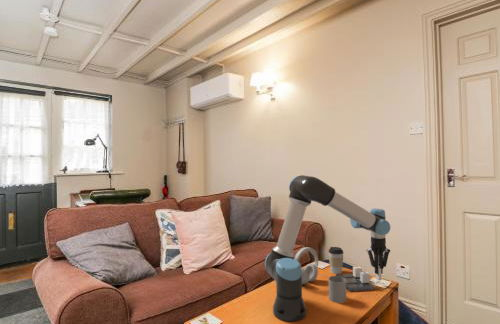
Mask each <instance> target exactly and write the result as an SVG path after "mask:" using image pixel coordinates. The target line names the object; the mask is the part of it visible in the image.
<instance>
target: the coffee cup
mask: <svg viewBox="0 0 500 324" xmlns="http://www.w3.org/2000/svg"><path fill="white" fill-rule="evenodd" d="M328 259H329V268H330V273H332V274H334V275H337V274H343V263H344V250H343V249H342V248H341V247H339V246H330V248H329V249H328Z"/></svg>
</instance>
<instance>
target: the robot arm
mask: <svg viewBox="0 0 500 324" xmlns="http://www.w3.org/2000/svg"><path fill="white" fill-rule="evenodd" d="M288 189H289V194H288V199H289V205H288V208H287V212H286V215H285V216H284V220H283V224H282V228H281V230H280V234H279V236H278V239H277V243H276V246H274V247H272V249H271V251H270V253H268V254H267V256H266V258H265V260H264V267H265V269H266V272H267V273H268V275H269V276H271V277H272V279H273V280H274V281H275V284H276V286H275V287H276V296H275V299H274V302H273V306H272V313H273V315H274V317H275V318H277V319H278V320H280V321H283V322H284V321H285V322H297V321H301V320H303V319H304V318H306V316H307V307H306V304H305V302H304V298H303V284H302V269H301V267H302V265H301V263H300V261H297V260H295V259H294V258H295V255H294V248H295V245H296V242H297V238H298V235H299V231H300V228H301V226H302V222H303V219H304V217H305V216H304V215H305V213H306V210H307V207H309V206H311V203H312V202H315V203H317V204H320V205H322V206H324V207H327V206H328V207H330V208H331V209H332V210H335V211H336V212H338V213H340V214H342V215H344V216H346V217H347V218H349V219H350V220H349V222H350V225H351V227H352V228H354V229H364V230H367V231H369V232H370V236H371V237H370V248H368V249H366V252H367V254H368V258H369V262H370V265H371V267H372V268H374V273H375V276H376V277H375V278H376V280H377V281H382V274H383V273H384V272H383V270H384V268H386V267H387V263H388V259H389V254H390V252H391V249H389V248H387V245H386V244H387V243H386V237H387V236H386V235H388V234H389V233H390V231H391V224H390V222H389V221H388V220H386V211H385V210H384V209H382V208H371V209H370V211H368V210H366V209H365V208H363V207H361V206H360V205H358V204H357V203H355V202H353V201H352V200H350V199H348V198H347V197H345V196H343V195H342V194H340V193H338V192H336V189H335V188H334V187H332V186H331V185H329V184H328V183H326V182H325V181H323V180H321V179H319V178H318V177H314V176H309V175H297V176H295V177H293V178H292V179H291V181H290V182H289V186H288Z"/></svg>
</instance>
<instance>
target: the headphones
mask: <svg viewBox="0 0 500 324" xmlns="http://www.w3.org/2000/svg"><path fill="white" fill-rule="evenodd" d="M307 252H309V253H311V255H312V256H313V257H314V264H313V263H308V264H306V265H305V266H304V268H303V266H301V269H302V285H306V284H307V283H308V282H314V281H315V280H316V279H317V278H318V273H319V269H318V266H319V257H318V253H317V251H316V250H315V249H314V248H312V247H309V246H307V247H302V248H300V249H299V250H298V251H297V252H296V253H295V255H294V259H295V260H297V261H298V262H300V259H301V257H302V256H303V255H304V254H305V253H307Z"/></svg>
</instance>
